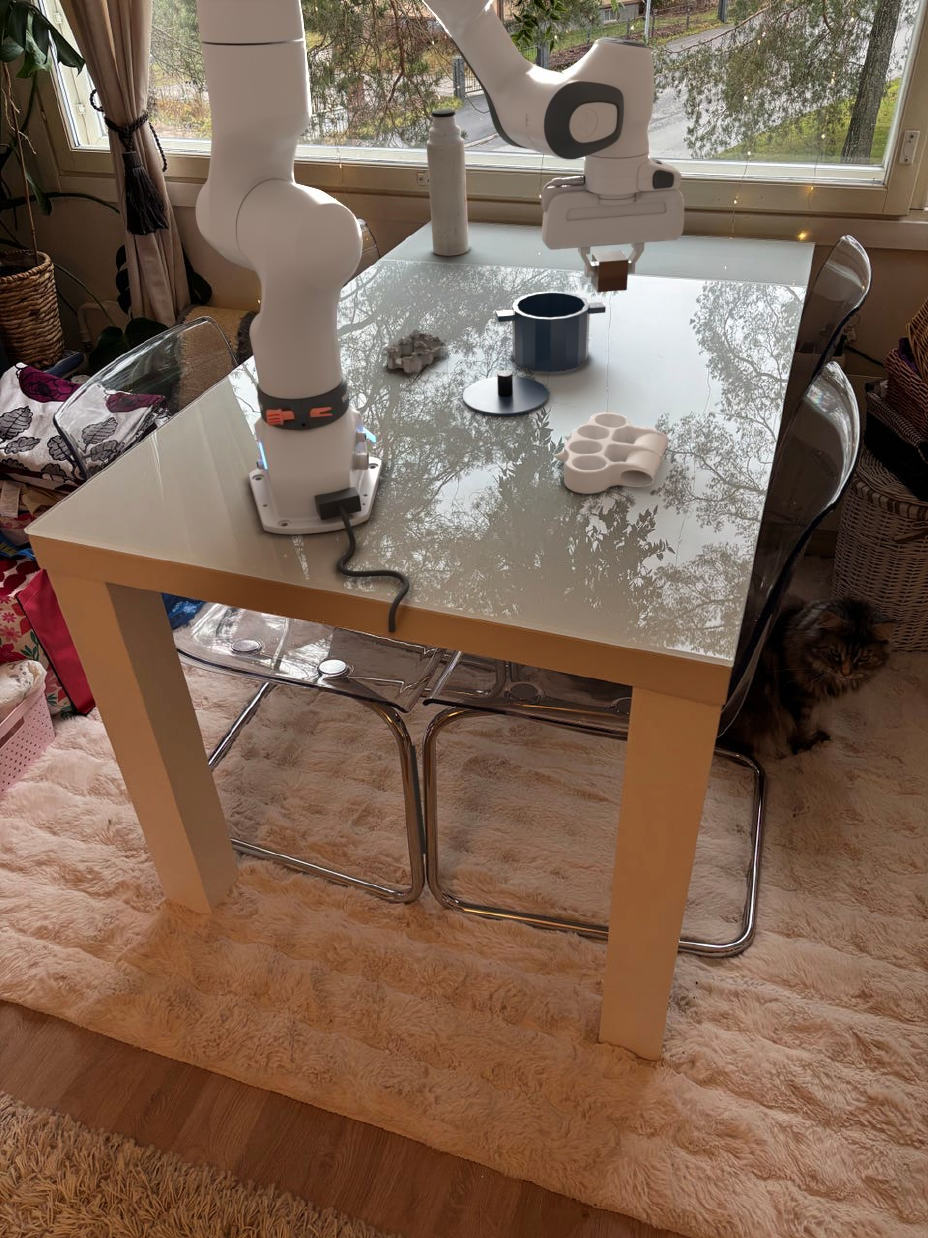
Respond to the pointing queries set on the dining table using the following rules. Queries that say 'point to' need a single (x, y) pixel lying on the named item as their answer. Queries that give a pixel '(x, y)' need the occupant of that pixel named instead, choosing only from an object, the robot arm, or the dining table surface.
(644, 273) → the dining table surface
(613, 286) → the block
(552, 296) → the pot
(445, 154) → the thermos bottle
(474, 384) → the lid
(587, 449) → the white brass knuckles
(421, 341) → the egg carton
